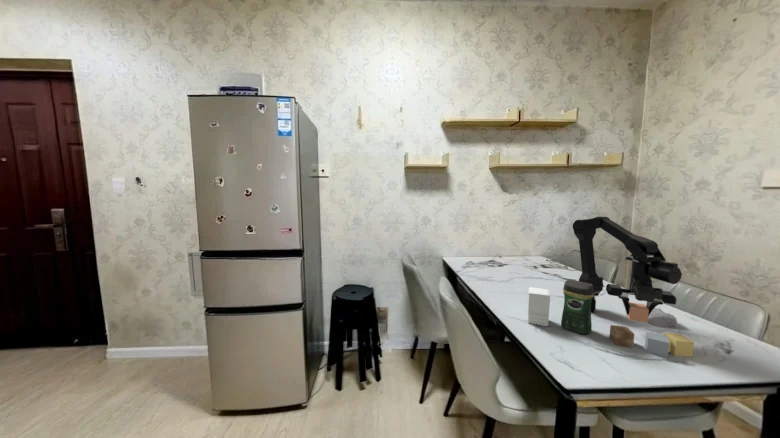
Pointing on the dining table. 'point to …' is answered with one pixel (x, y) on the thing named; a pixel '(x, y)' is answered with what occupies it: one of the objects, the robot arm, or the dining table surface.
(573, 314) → the coffee jar
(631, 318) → the terracotta cube
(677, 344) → the ochre cube
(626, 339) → the walnut cube
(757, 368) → the dining table surface
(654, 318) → the stone block
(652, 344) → the slate cube
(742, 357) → the dining table surface
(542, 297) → the supplement box
